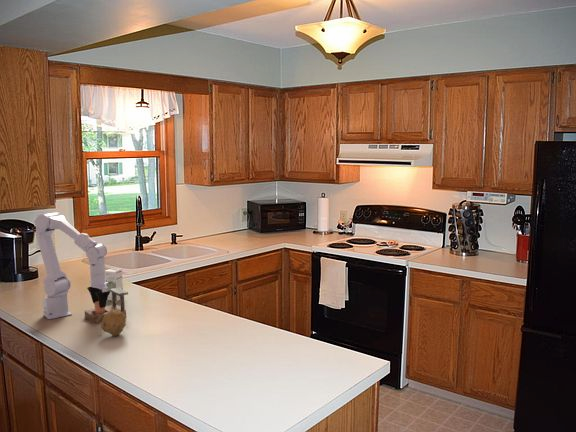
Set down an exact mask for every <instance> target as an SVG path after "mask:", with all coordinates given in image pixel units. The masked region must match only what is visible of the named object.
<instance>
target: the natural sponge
mask: <svg viewBox="0 0 576 432" xmlns="http://www.w3.org/2000/svg"><path fill="white" fill-rule="evenodd" d="M126 321H127V316H126V317H125V315H124V314H123V313H122V312H121V311H117V310H112V311H109V312H108V313H106V314H105V316H104V318H103V320H102V322H101V323H100V327H101V331H104V332H106V333H108V334H110V335H111V336H113V337H118V336H119V335H120V334H121V333H122V332H123V330H124V329H125V326H126Z"/></svg>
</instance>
